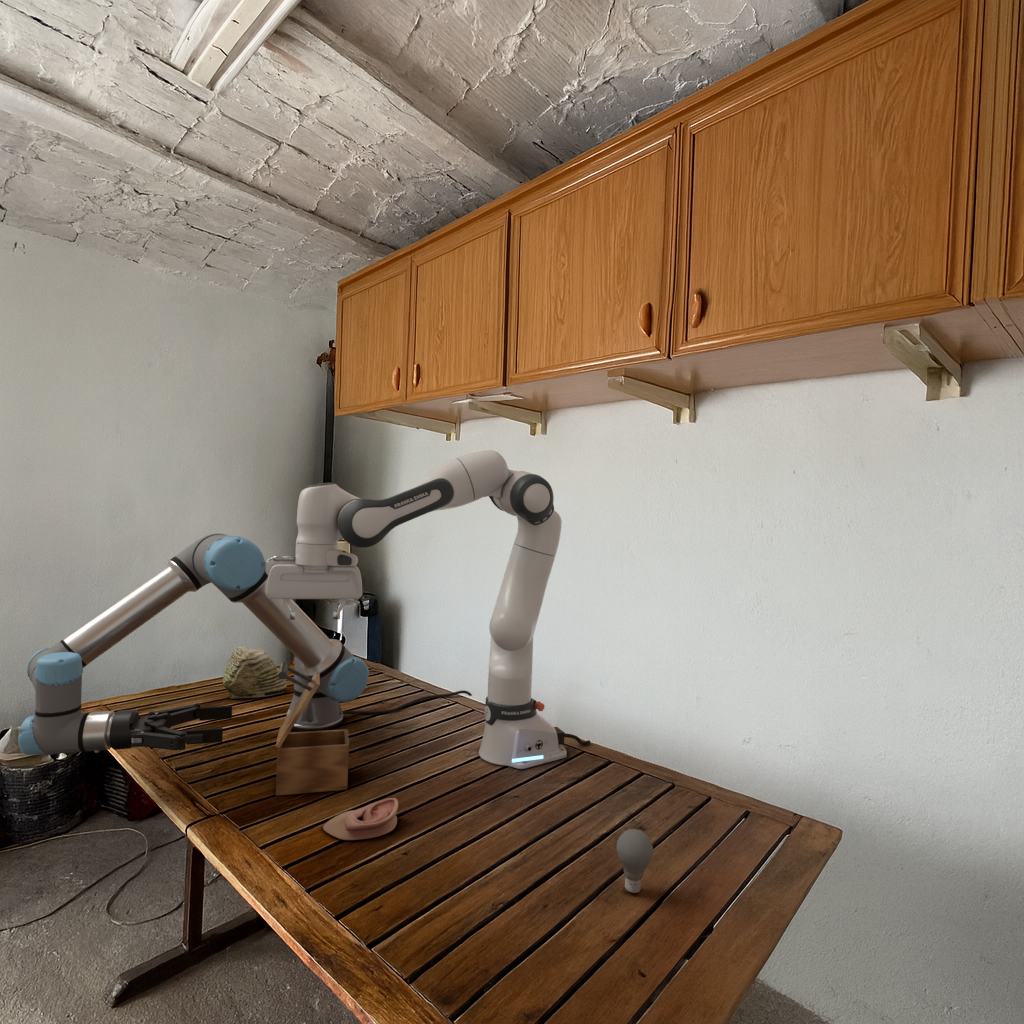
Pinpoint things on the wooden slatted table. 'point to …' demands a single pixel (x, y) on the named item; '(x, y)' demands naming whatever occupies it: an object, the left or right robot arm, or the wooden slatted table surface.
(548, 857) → the wooden slatted table surface
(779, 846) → the wooden slatted table surface
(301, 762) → the chest
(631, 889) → the light bulb
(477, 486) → the right robot arm
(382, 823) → the anatomical model
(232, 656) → the fossil
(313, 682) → the lid
